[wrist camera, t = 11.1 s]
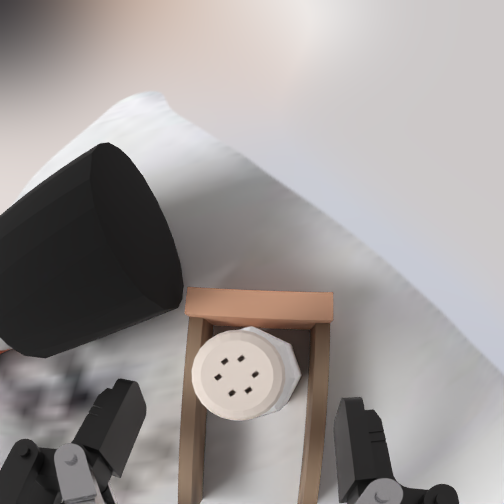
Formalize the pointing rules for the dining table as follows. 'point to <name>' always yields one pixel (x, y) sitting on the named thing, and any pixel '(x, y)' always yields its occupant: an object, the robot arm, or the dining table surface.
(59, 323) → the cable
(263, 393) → the pepper shaker
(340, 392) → the dining table surface
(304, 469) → the guide channel
